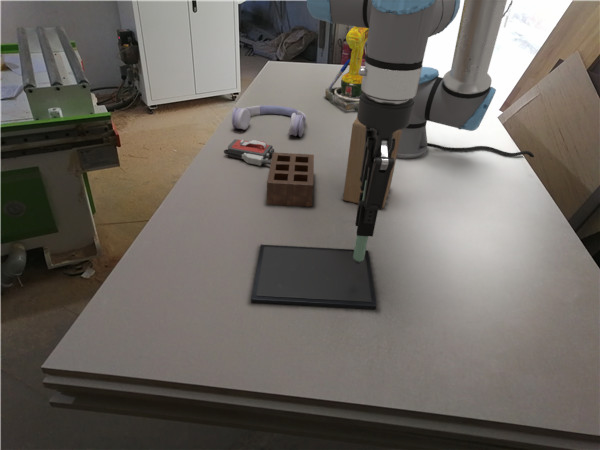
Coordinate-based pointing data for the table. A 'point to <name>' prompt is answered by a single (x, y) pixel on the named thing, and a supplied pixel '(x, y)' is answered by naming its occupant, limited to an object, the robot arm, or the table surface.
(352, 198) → the wooden block
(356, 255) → the stylus
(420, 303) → the table surface
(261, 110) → the headphones
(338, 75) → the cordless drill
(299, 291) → the tablet
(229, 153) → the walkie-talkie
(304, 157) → the pen block
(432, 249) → the table surface
